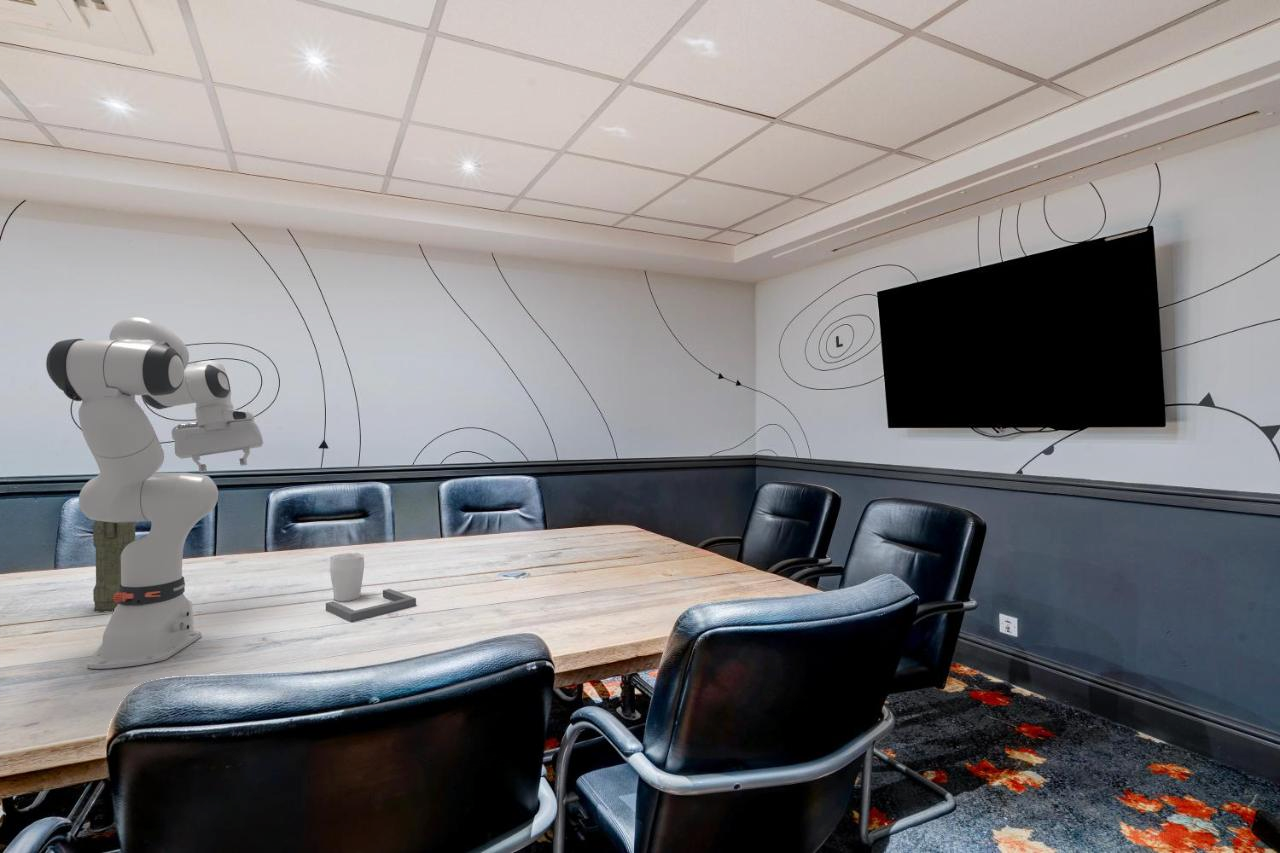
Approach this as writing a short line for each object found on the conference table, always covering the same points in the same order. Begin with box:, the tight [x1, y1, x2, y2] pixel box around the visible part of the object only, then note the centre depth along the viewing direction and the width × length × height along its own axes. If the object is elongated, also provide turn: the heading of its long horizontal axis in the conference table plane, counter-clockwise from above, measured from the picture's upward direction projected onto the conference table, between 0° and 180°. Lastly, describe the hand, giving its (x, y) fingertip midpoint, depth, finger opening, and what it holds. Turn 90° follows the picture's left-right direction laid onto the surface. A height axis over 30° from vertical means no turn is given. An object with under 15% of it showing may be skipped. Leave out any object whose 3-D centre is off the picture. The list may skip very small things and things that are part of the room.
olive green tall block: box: [92, 520, 136, 612], centre depth 168 cm, size 9×12×35 cm
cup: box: [329, 552, 365, 602], centre depth 178 cm, size 9×9×12 cm
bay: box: [325, 588, 417, 623], centre depth 169 cm, size 14×18×2 cm
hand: (223, 468), depth 170 cm, fingers open, 8 cm apart
